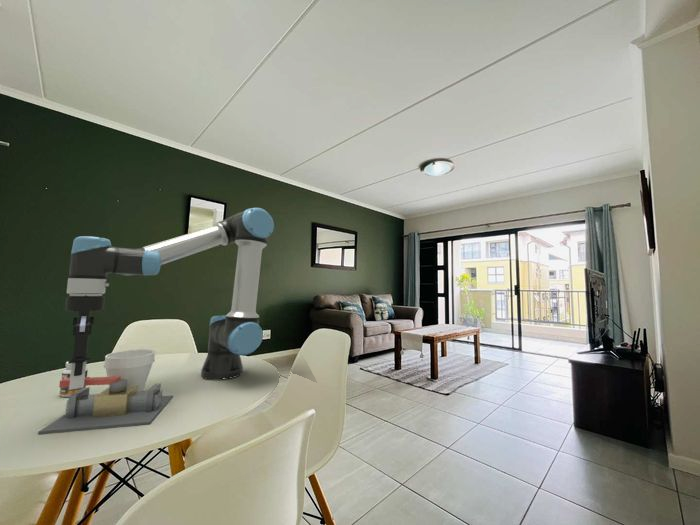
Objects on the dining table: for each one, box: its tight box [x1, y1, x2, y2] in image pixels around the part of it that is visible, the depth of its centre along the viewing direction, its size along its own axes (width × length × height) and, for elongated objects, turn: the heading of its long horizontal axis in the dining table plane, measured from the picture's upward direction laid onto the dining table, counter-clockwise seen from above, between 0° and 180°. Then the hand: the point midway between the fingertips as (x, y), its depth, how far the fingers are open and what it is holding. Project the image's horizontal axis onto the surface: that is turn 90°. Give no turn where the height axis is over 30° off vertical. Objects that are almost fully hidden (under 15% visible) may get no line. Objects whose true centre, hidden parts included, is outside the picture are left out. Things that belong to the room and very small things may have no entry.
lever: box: [58, 376, 128, 392], centre depth 75 cm, size 14×4×3 cm, turn 104°
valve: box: [64, 383, 163, 419], centre depth 76 cm, size 20×7×6 cm, turn 106°
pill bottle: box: [59, 360, 89, 398], centre depth 88 cm, size 6×6×10 cm
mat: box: [37, 394, 174, 435], centre depth 76 cm, size 22×18×1 cm
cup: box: [103, 348, 156, 391], centre depth 86 cm, size 12×12×14 cm
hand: (76, 387), depth 72 cm, fingers closed
